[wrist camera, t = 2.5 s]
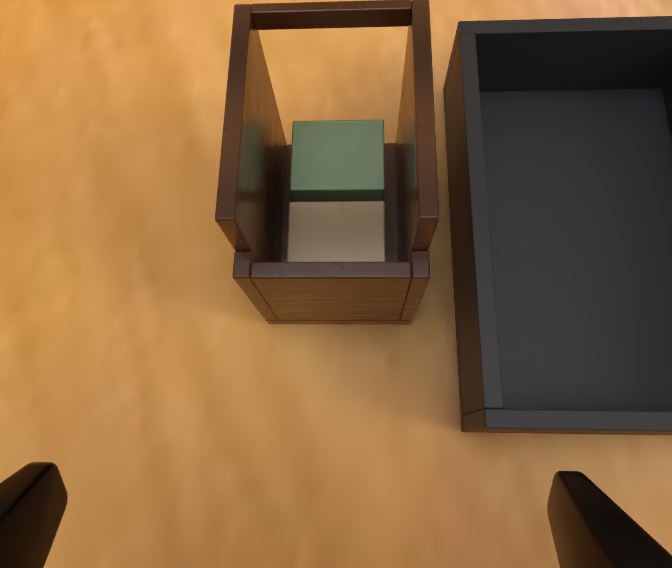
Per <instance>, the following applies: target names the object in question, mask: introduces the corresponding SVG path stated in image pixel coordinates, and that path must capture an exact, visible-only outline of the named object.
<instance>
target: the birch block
mask: <svg viewBox="0 0 672 568" xmlns="http://www.w3.org/2000/svg"><path fill="white" fill-rule="evenodd" d="M286 262H386V245H385V203H384V202H383V201H352V202H290V203H289V216H288V238H287V260H286Z"/></svg>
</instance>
